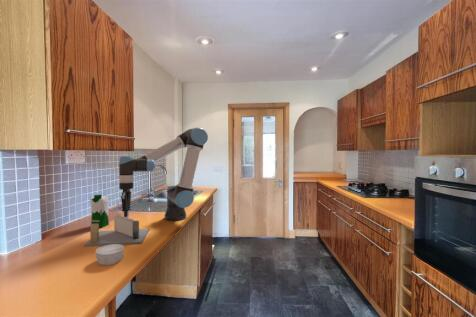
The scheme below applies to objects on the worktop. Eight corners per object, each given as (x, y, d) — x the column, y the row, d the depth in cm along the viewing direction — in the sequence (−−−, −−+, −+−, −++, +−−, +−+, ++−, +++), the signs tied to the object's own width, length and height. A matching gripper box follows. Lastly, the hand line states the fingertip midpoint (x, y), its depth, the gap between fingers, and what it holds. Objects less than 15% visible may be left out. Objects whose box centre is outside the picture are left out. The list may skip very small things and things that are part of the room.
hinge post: (139, 238, 132) (139, 220, 132) (138, 240, 129) (138, 222, 129) (133, 239, 131) (133, 220, 131) (132, 241, 128) (132, 222, 128)
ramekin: (113, 267, 99) (113, 255, 99) (88, 265, 101) (88, 253, 101) (129, 256, 110) (129, 244, 110) (107, 254, 112) (107, 243, 112)
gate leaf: (135, 236, 132) (135, 219, 132) (132, 237, 130) (132, 220, 130) (117, 229, 142) (117, 214, 142) (114, 230, 141) (114, 215, 141)
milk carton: (88, 227, 150) (88, 195, 149) (98, 223, 159) (98, 193, 158) (102, 228, 149) (101, 195, 148) (111, 224, 158) (111, 193, 157)
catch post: (98, 242, 126) (98, 223, 125) (96, 244, 123) (96, 224, 123) (92, 243, 125) (92, 223, 125) (90, 244, 123) (90, 225, 123)
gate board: (149, 230, 146) (149, 228, 146) (141, 243, 125) (141, 241, 125) (100, 232, 142) (100, 230, 141) (84, 246, 121) (84, 244, 121)
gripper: (122, 180, 150) (123, 219, 150) (115, 183, 137) (116, 225, 137) (135, 180, 151) (135, 218, 152) (130, 183, 138) (130, 224, 139)
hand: (126, 221), depth 145 cm, fingers closed
